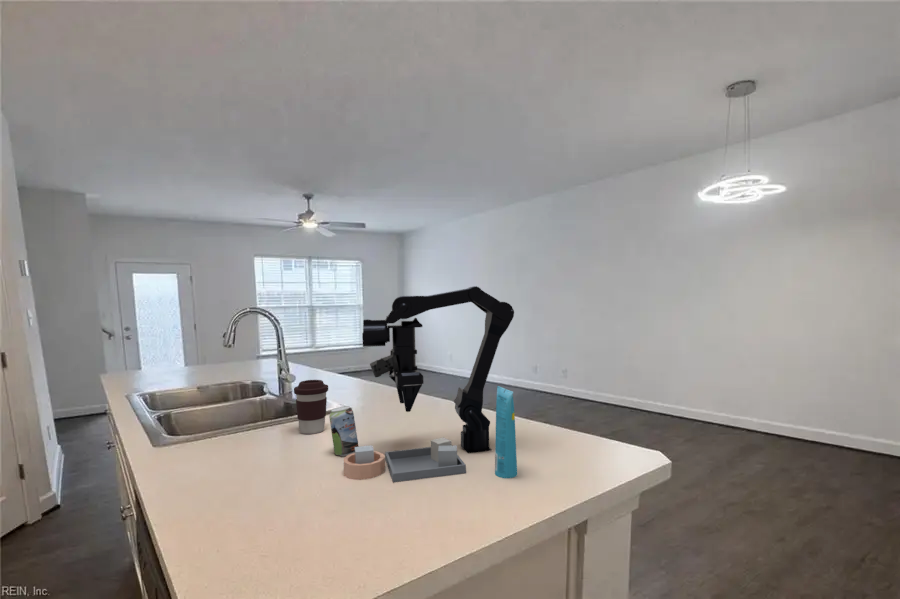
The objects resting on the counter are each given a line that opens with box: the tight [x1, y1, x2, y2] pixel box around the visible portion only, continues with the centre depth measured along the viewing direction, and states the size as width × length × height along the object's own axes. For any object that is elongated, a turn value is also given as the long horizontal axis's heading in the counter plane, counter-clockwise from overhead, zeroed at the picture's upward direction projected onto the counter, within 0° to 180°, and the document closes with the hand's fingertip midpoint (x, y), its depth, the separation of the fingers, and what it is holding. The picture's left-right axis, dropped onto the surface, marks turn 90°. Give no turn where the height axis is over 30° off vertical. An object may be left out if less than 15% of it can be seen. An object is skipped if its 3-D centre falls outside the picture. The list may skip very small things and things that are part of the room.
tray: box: [384, 446, 467, 483], centre depth 102 cm, size 16×14×2 cm
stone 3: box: [438, 444, 458, 467], centre depth 100 cm, size 4×4×5 cm
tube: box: [494, 385, 518, 479], centre depth 97 cm, size 7×5×19 cm, turn 26°
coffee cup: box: [293, 379, 329, 435], centre depth 133 cm, size 10×10×15 cm
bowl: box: [343, 450, 386, 481], centre depth 100 cm, size 9×9×4 cm
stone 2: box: [430, 436, 452, 462], centre depth 106 cm, size 4×3×4 cm
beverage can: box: [329, 405, 360, 457], centre depth 112 cm, size 6×7×12 cm
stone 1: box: [355, 444, 375, 464], centre depth 99 cm, size 4×4×5 cm
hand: (405, 407), depth 111 cm, fingers open, 9 cm apart
